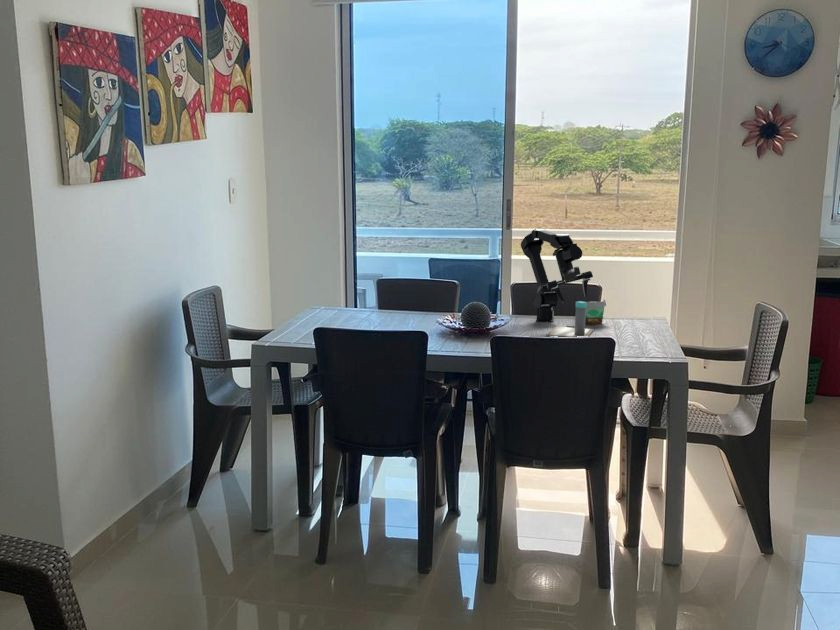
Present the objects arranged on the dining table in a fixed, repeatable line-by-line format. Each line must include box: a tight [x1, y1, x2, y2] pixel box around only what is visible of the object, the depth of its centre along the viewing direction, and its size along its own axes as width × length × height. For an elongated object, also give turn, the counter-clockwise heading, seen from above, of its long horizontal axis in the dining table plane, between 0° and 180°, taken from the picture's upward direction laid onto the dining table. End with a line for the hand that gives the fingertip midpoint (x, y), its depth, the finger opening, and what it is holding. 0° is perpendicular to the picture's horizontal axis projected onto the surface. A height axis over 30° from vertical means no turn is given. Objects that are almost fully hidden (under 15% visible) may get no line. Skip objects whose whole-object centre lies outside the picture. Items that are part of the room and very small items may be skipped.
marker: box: [574, 300, 587, 336], centre depth 322 cm, size 4×4×13 cm
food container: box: [578, 299, 607, 326], centre depth 346 cm, size 12×6×10 cm, turn 101°
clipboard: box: [545, 324, 595, 337], centre depth 329 cm, size 16×19×1 cm
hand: (574, 300), depth 335 cm, fingers open, 9 cm apart
